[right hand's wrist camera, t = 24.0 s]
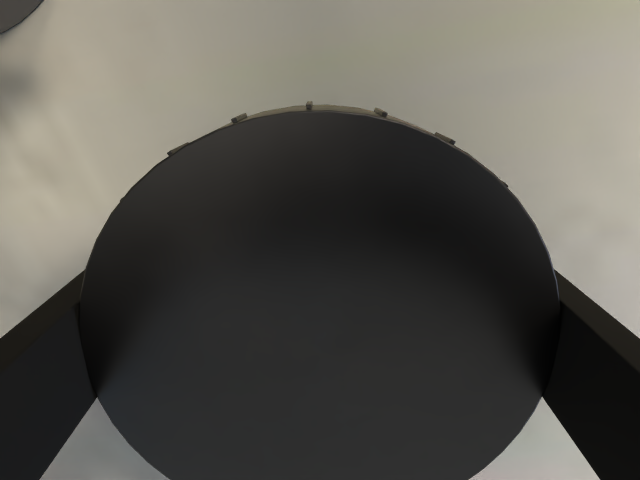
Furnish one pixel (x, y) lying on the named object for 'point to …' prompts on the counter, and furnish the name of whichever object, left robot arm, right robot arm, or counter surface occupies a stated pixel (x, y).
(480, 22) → the counter surface
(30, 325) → the right robot arm
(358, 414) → the lid
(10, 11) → the jar
